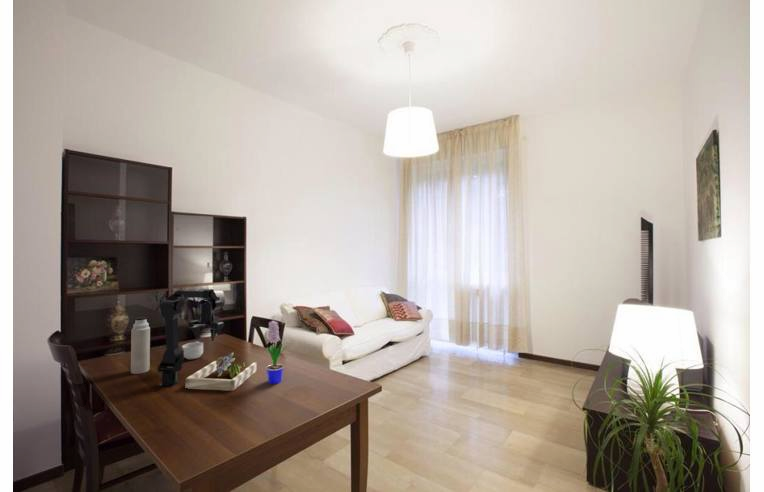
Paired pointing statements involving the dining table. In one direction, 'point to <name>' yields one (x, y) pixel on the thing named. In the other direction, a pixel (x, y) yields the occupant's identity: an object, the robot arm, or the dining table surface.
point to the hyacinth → (274, 355)
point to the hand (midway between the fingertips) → (205, 340)
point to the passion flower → (228, 365)
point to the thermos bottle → (140, 346)
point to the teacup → (193, 350)
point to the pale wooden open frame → (201, 382)
